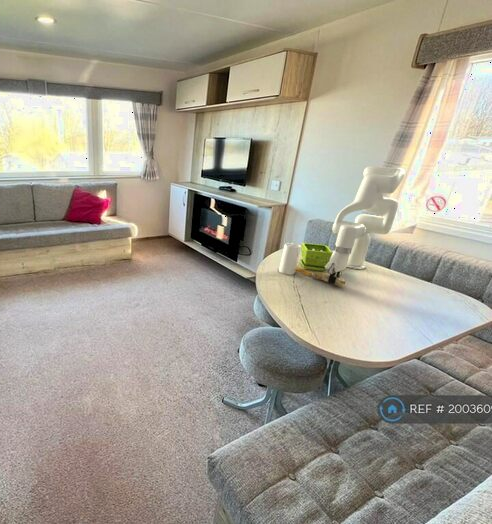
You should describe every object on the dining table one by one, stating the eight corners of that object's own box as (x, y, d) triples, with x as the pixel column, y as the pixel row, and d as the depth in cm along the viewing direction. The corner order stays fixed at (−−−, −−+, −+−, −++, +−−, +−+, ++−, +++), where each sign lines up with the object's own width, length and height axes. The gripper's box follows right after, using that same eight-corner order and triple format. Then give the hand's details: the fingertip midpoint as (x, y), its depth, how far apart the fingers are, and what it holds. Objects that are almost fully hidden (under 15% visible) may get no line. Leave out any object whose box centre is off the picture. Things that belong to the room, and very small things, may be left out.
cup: (296, 275, 172) (302, 248, 166) (280, 273, 173) (286, 246, 167) (292, 269, 179) (298, 243, 173) (277, 268, 181) (283, 242, 175)
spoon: (346, 286, 159) (348, 279, 158) (340, 288, 157) (342, 281, 155) (316, 275, 171) (318, 269, 170) (311, 276, 169) (313, 270, 167)
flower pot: (296, 261, 192) (301, 242, 187) (321, 264, 189) (327, 245, 184) (301, 270, 179) (306, 249, 175) (327, 273, 176) (333, 252, 171)
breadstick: (292, 269, 179) (293, 266, 179) (295, 269, 180) (295, 266, 180) (309, 276, 171) (310, 273, 171) (311, 275, 172) (312, 272, 172)
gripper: (343, 245, 162) (333, 277, 169) (326, 249, 154) (317, 282, 161) (358, 249, 156) (348, 282, 163) (342, 254, 148) (331, 288, 155)
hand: (332, 282), depth 162 cm, fingers closed on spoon, 2 cm apart
